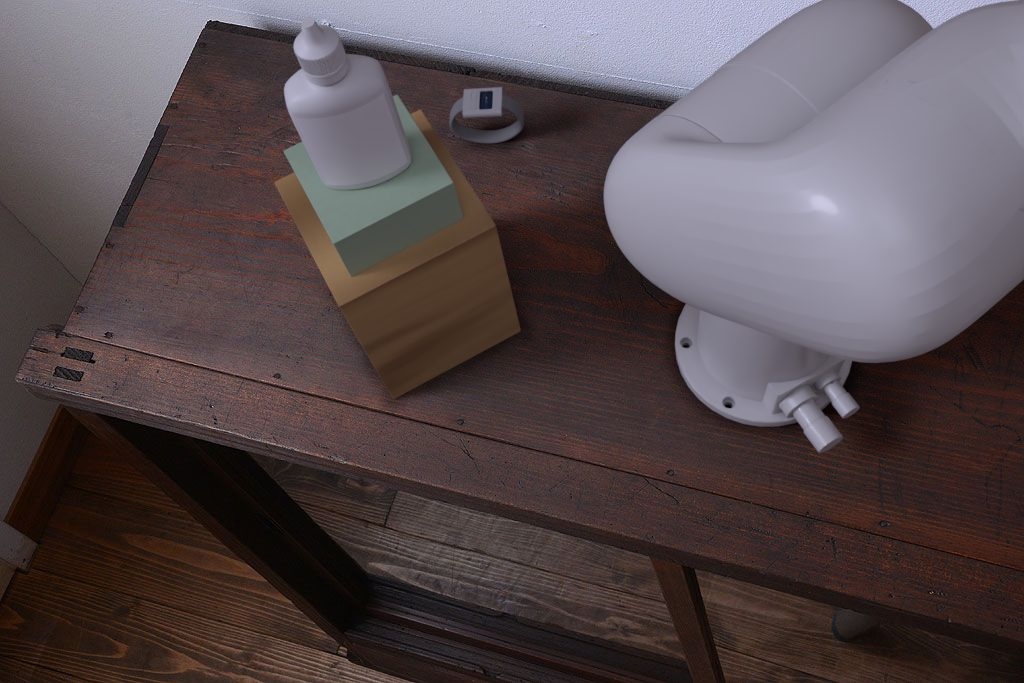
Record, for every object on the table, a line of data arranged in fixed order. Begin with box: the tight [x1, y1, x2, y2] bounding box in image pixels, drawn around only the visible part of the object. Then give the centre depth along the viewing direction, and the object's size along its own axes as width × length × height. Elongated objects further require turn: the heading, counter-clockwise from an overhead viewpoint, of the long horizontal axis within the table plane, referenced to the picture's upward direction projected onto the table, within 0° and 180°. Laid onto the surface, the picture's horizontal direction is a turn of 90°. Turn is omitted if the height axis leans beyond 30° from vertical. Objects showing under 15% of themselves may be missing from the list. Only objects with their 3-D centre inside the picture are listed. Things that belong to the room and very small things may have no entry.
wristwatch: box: [448, 86, 525, 145], centre depth 80 cm, size 6×3×5 cm, turn 89°
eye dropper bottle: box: [283, 16, 412, 190], centre depth 54 cm, size 4×6×12 cm
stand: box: [274, 108, 522, 400], centre depth 69 cm, size 11×11×15 cm
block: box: [283, 94, 464, 277], centre depth 61 cm, size 8×8×4 cm
